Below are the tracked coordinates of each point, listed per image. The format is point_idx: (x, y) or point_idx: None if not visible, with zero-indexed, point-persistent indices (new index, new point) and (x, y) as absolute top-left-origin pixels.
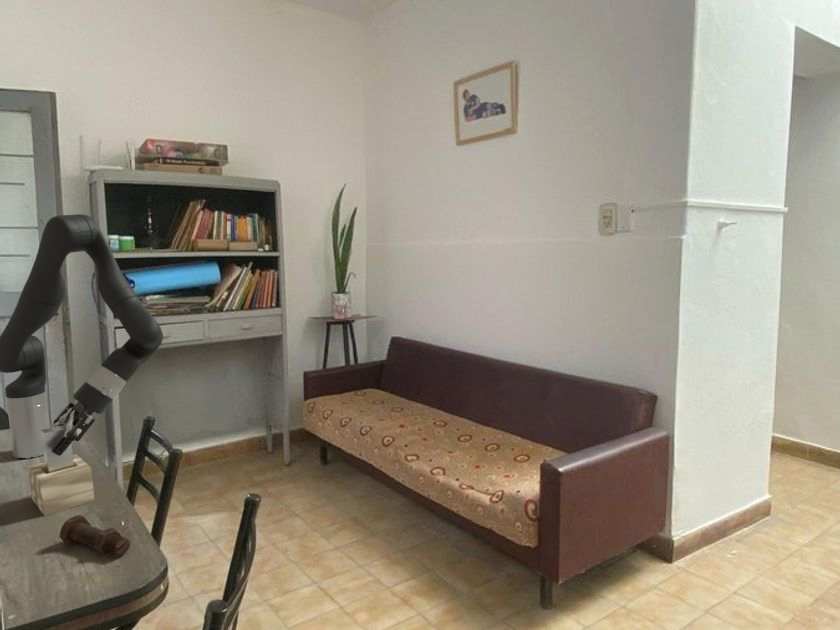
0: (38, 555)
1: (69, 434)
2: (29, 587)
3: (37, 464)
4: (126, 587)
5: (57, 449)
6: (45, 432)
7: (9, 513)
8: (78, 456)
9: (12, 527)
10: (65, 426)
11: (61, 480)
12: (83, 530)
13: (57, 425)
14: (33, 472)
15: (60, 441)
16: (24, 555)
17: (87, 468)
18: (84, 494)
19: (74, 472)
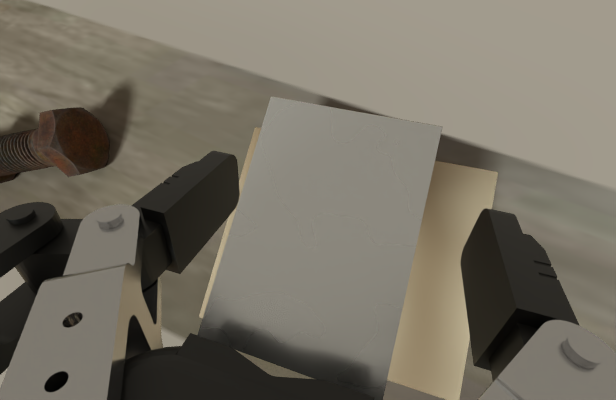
0: (118, 82)
1: (21, 212)
2: (39, 34)
3: (483, 208)
4: None
5: (183, 168)
6: (296, 117)
7: None
8: (410, 386)
9: (297, 97)
10: (307, 350)
11: None
12: (21, 133)
13: (516, 356)
14: None
15: (167, 189)
16: (143, 66)
17: (205, 302)
18: None
19: (219, 248)
